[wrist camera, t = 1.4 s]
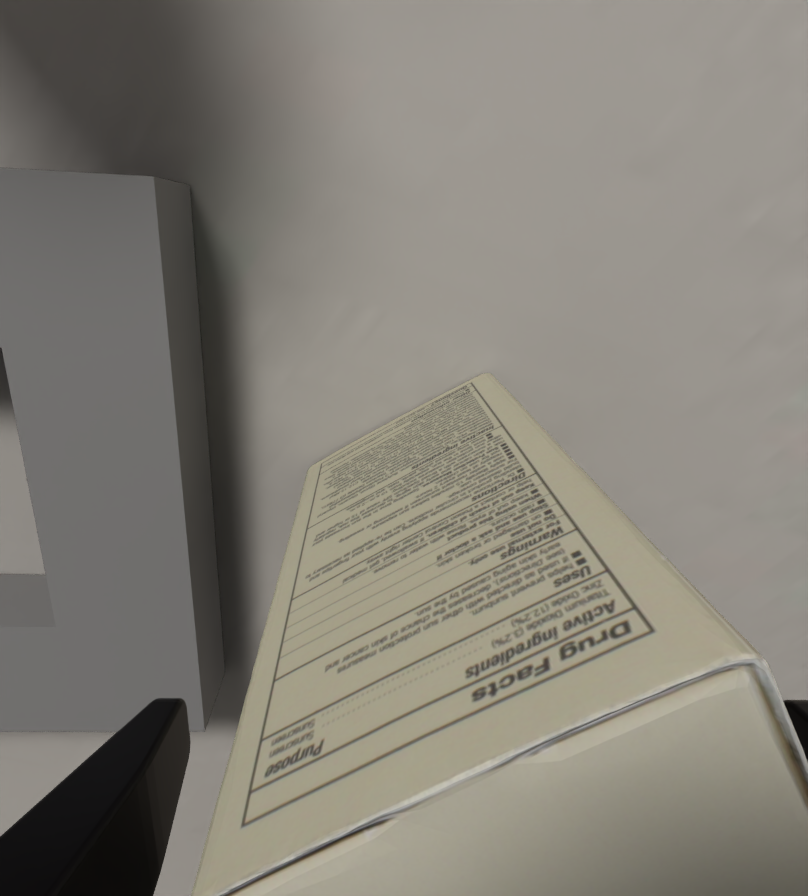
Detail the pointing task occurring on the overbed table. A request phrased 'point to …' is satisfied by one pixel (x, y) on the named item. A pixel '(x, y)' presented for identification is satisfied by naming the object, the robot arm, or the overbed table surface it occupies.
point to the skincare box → (497, 691)
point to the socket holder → (107, 454)
